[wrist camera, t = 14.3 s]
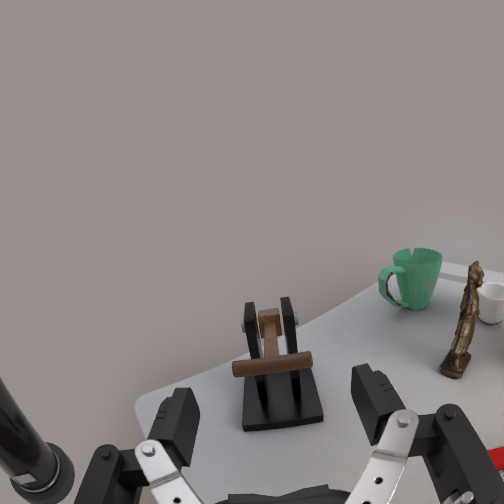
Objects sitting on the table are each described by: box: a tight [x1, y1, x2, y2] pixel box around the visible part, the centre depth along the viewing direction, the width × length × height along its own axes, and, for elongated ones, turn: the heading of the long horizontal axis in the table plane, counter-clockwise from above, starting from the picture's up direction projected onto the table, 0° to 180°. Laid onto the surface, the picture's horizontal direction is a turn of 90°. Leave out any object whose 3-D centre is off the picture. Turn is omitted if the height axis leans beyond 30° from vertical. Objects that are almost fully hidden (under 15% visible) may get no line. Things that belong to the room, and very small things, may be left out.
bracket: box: [241, 297, 324, 432], centre depth 30 cm, size 12×9×13 cm
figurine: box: [439, 261, 484, 379], centre depth 25 cm, size 7×4×15 cm, turn 123°
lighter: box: [487, 446, 504, 471], centre depth 10 cm, size 3×1×8 cm
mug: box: [378, 248, 442, 310], centre depth 44 cm, size 15×10×10 cm
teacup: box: [477, 282, 504, 324], centre depth 33 cm, size 10×8×5 cm
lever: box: [232, 308, 313, 377], centre depth 24 cm, size 13×6×2 cm, turn 179°
